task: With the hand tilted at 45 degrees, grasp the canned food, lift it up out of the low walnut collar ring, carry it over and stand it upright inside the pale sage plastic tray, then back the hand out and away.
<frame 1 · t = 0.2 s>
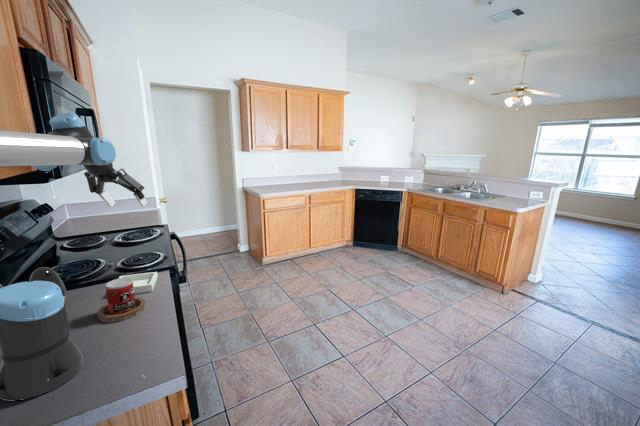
hand: (128, 204, 109), 35 cm above the counter, tool tilted 35°, fingers open, 13 cm apart
collar ring: (122, 311, 97), on the counter
canned food: (123, 311, 98), resting in collar ring
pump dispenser: (49, 307, 99), on the counter
tray: (136, 286, 116), on the counter
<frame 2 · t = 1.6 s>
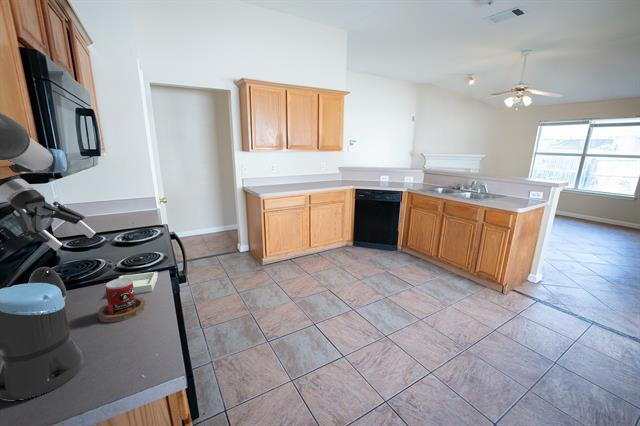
hand: (77, 241, 93), 25 cm above the counter, tool tilted 45°, fingers open, 13 cm apart
nothing on the counter moved.
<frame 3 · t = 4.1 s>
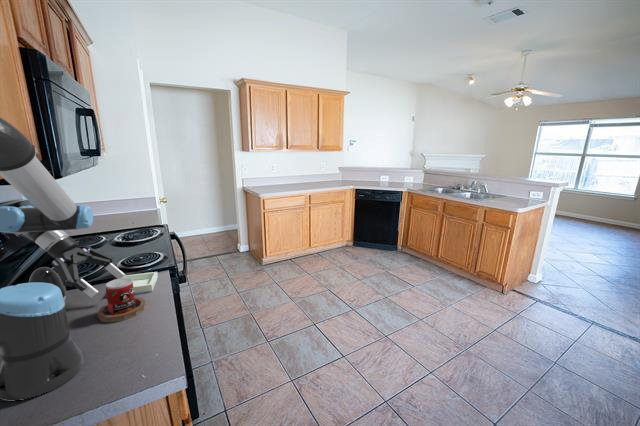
hand: (109, 285, 97), 9 cm above the counter, tool tilted 45°, fingers open, 13 cm apart
nothing on the counter moved.
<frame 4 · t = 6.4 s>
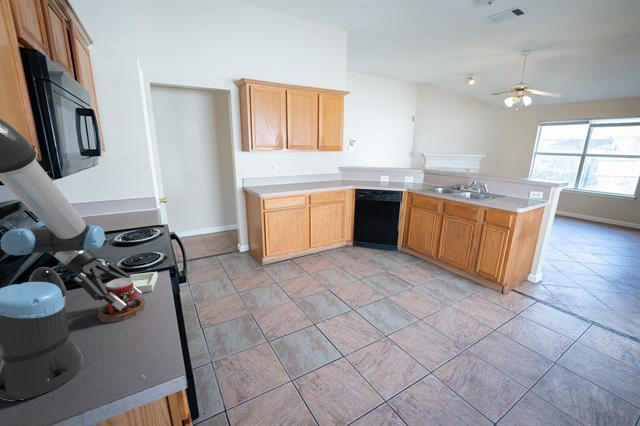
hand: (131, 301, 97), 4 cm above the counter, tool tilted 45°, fingers closed on canned food, 8 cm apart
canned food: (123, 311, 98), resting in collar ring, touching gripper
everything else where it was.
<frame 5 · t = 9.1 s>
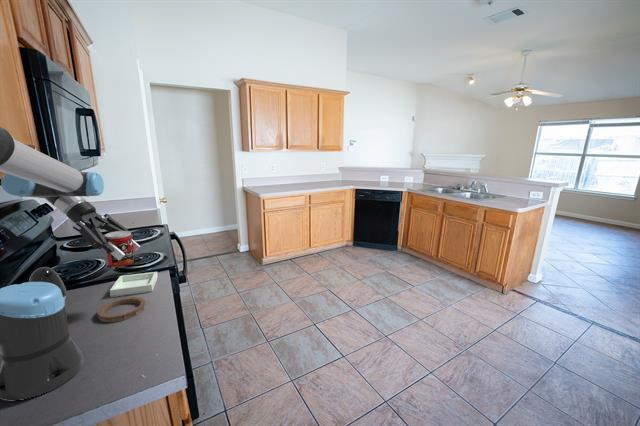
hand: (130, 253, 98), 20 cm above the counter, tool tilted 45°, fingers closed on canned food, 8 cm apart
canned food: (121, 263, 99), point 16 cm above the counter, touching gripper
everything else where it was.
when the fingers open (6 cm above the counter, at t = 12.1 s): canned food drops 1 cm, resting on tray.
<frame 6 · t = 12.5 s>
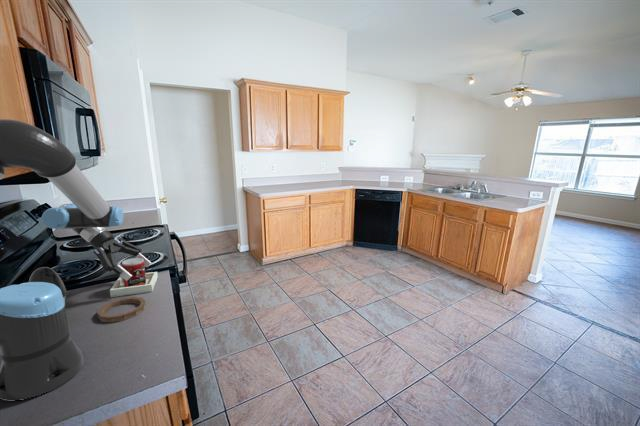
hand: (140, 271, 114), 7 cm above the counter, tool tilted 45°, fingers open, 13 cm apart
canned food: (135, 286, 115), resting on tray
everything else where it was.
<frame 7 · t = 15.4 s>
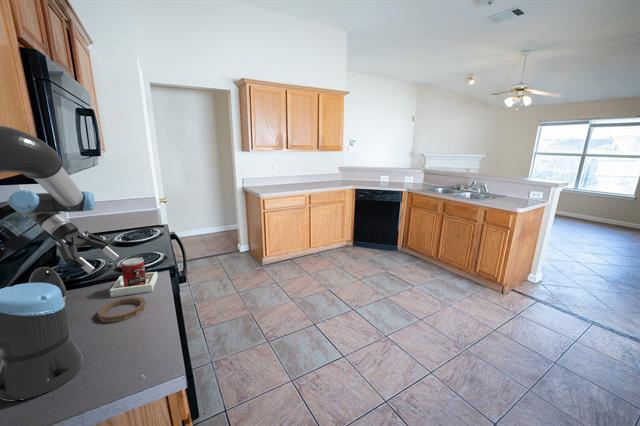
hand: (105, 264, 112), 10 cm above the counter, tool tilted 45°, fingers open, 13 cm apart
nothing on the counter moved.
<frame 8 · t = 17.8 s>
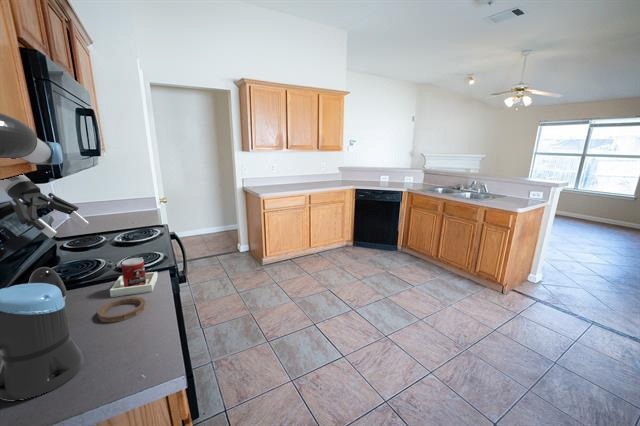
hand: (71, 230, 98), 28 cm above the counter, tool tilted 45°, fingers open, 13 cm apart
nothing on the counter moved.
at the end: canned food inside the target area on the tray (0.1 cm from its centre), point 0.4 cm above the tray's base; canned food tilted 0°; the gripper is holding nothing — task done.
